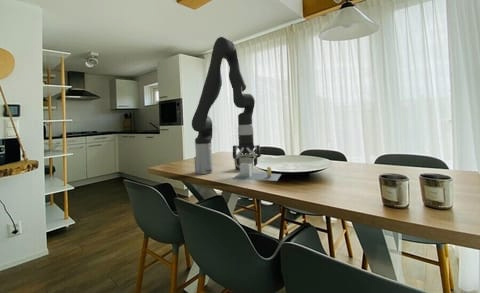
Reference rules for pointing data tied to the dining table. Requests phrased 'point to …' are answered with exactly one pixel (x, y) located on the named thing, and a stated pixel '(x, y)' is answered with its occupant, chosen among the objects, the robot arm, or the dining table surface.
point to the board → (261, 176)
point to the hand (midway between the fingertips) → (247, 165)
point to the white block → (245, 169)
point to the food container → (243, 160)
